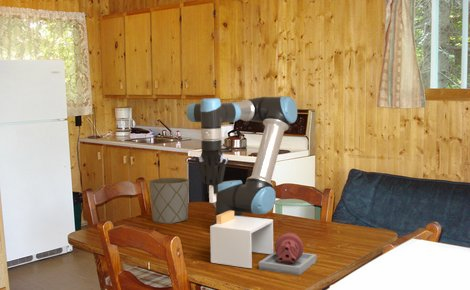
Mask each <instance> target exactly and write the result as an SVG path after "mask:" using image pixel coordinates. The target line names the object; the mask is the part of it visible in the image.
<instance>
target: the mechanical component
mask: <svg viewBox="0 0 470 290" xmlns="http://www.w3.org/2000/svg"><path fill="white" fill-rule="evenodd" d="M274 249H275V250H274V252H276V254H277V255H278V260H279V261H282V262H283V263H286V264H290V263H293V262H295V261H296V260H298V259H299V258H300V257H301V256H302V253H304V243H303V241H302V240H301V238H300V236H299V235H297V234H296V233H292V232H286V233H284V234H282V235H280V236H279V237H278V238H277V239H276V242H275V244H274Z"/></svg>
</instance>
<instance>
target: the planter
mask: <svg viewBox="0 0 470 290" xmlns="http://www.w3.org/2000/svg"><path fill="white" fill-rule="evenodd" d="M189 182H190V180H189V179H188V178H183V177H164V178H163V177H161V178H154V179H151V180H150V181H149V182H148V183H149V194H150V204H151V215H152V216H151V217H152V221H153V222H154V223H159V224H165V225H167V224H175V223H181V222H183V221H186V220H188V217H189V216H188V215H189V193H190V191H189V190H190V189H189V188H190V183H189Z"/></svg>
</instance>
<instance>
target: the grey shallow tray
mask: <svg viewBox="0 0 470 290" xmlns="http://www.w3.org/2000/svg"><path fill="white" fill-rule="evenodd" d="M317 255H318V254H315V253H306V252H303V253H302V256H301V257H300V258H299V259H298V260H296V261H295V262H293V263H290V264H286V263H283V262H282V261H279V260H278V255H277V254H276V251H273V253H272V254H268V255H267V256H266V257H265V258H263V259H261V260H259V261H258V270H261V271H262V270H263V271H268V272H275V273H281V274H288V275H296V276H300V275H302V274H303V273H304V272H306V271H307V270H309V268H310V267H312V266H313V265H314V264H315V263H316V262H317V261H318V260H317V259H318V258H317V257H318V256H317Z"/></svg>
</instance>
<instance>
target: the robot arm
mask: <svg viewBox="0 0 470 290" xmlns="http://www.w3.org/2000/svg"><path fill="white" fill-rule="evenodd" d="M185 111H186V118H187V120H188V121H189V122H191V123H200V134H201V135H200V136H201V137H200V138H201V144H200V145H201V154H200V156H199V157H195V162H196V164H197V166H198V169H199V173H200V174H199V175H200V178H201V183H202V184H205V185H206V189H207V190H206V192H207V194H208V198H209V203H210V204H214V203H215V202H216V208H215V218H214V222H213V225H215V224H217V215H219V214H222V213H224V212H227V211H229V210H230V211H234V216H243V217H244V215H243V213H247V214H254V215H266V214H267V215H268V213H269V212H270V211H271V210H272V209H273V208H274V205H275V204H276V199H277V198H276V190H275V189H274V184H273V183H272V178H273V174H274V171H275V166H276V163H277V159H278V155H279V152H280V148H281V144H282V141H283V137H284V133H285V132H286V131H288V130H289V128H290V124H293V123H294V124H295V122H296V121H297V118H298V107H297V104H296V101H295V100H294V99H293V98H292V97H291V96H283V95H281V96H260V97H254V98H248V99H243V100H240V101H236V102H235V101H231V102H230V101H229V102H221V99H220V98H218V97H216V98H214V97H213V98H202V99H201V100H200V103H197V102H195V103H191V104H189V105H188V106H187V107H186V110H185ZM238 120H241V121H244V122H257V123H262V124H263V125H264V129H263V134H262V137H261V140H260V143H259V148H258V151H257V154H256V158H255V161H254V165H253V169H252V173H251V176H249V177H247V178H246V181H245V184H243V181H242V180H241V179H239V180H238V179H237V180H235V179H233V180H227V181H226V180H225V181H224V178H225V177H224V176H225V171H226V166H227V164H228V162H229V158H226V157H224V155H223V152H222V146H223V145H222V144H223V143H222V140H221V139H222V124H224V123H225V124H226V123H235V122H237V121H238ZM219 163H220V164H219Z"/></svg>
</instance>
